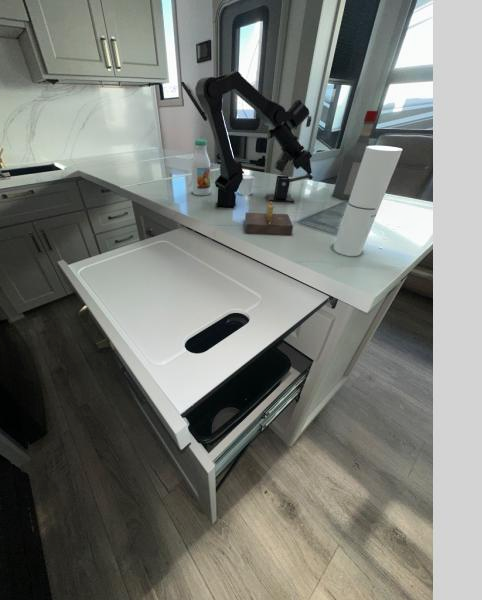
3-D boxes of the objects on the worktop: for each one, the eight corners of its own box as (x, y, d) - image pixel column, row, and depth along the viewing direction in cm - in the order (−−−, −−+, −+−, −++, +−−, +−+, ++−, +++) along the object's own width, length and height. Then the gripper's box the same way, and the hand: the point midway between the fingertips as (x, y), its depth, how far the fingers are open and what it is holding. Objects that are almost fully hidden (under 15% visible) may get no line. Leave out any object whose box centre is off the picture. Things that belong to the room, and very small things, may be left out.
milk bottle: (190, 195, 113) (189, 141, 101) (194, 190, 119) (193, 138, 107) (208, 196, 112) (209, 141, 100) (211, 191, 118) (212, 139, 106)
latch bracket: (290, 197, 112) (294, 175, 106) (293, 203, 105) (298, 180, 100) (266, 196, 112) (269, 174, 107) (268, 202, 106) (271, 179, 100)
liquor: (361, 199, 110) (393, 111, 91) (344, 202, 107) (374, 111, 89) (344, 193, 117) (371, 110, 98) (328, 196, 114) (352, 110, 95)
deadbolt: (271, 221, 82) (273, 206, 79) (266, 221, 82) (268, 206, 79) (269, 215, 86) (272, 201, 83) (265, 215, 86) (267, 200, 83)
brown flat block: (245, 233, 82) (246, 223, 81) (244, 221, 90) (245, 212, 88) (291, 235, 82) (293, 225, 80) (286, 222, 90) (288, 213, 88)
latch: (309, 177, 105) (309, 170, 103) (312, 180, 101) (312, 173, 100) (278, 184, 107) (278, 178, 106) (280, 187, 103) (279, 181, 102)
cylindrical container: (329, 244, 77) (360, 145, 61) (352, 243, 77) (389, 145, 62) (340, 256, 71) (378, 150, 56) (366, 255, 72) (410, 150, 56)
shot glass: (252, 192, 118) (254, 175, 113) (253, 196, 112) (255, 179, 108) (237, 191, 118) (238, 174, 114) (237, 196, 113) (238, 178, 108)
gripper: (266, 152, 107) (288, 182, 113) (271, 161, 92) (296, 195, 98) (289, 129, 102) (312, 162, 108) (298, 135, 87) (324, 173, 93)
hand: (310, 173), depth 102 cm, fingers closed, pressing on latch
